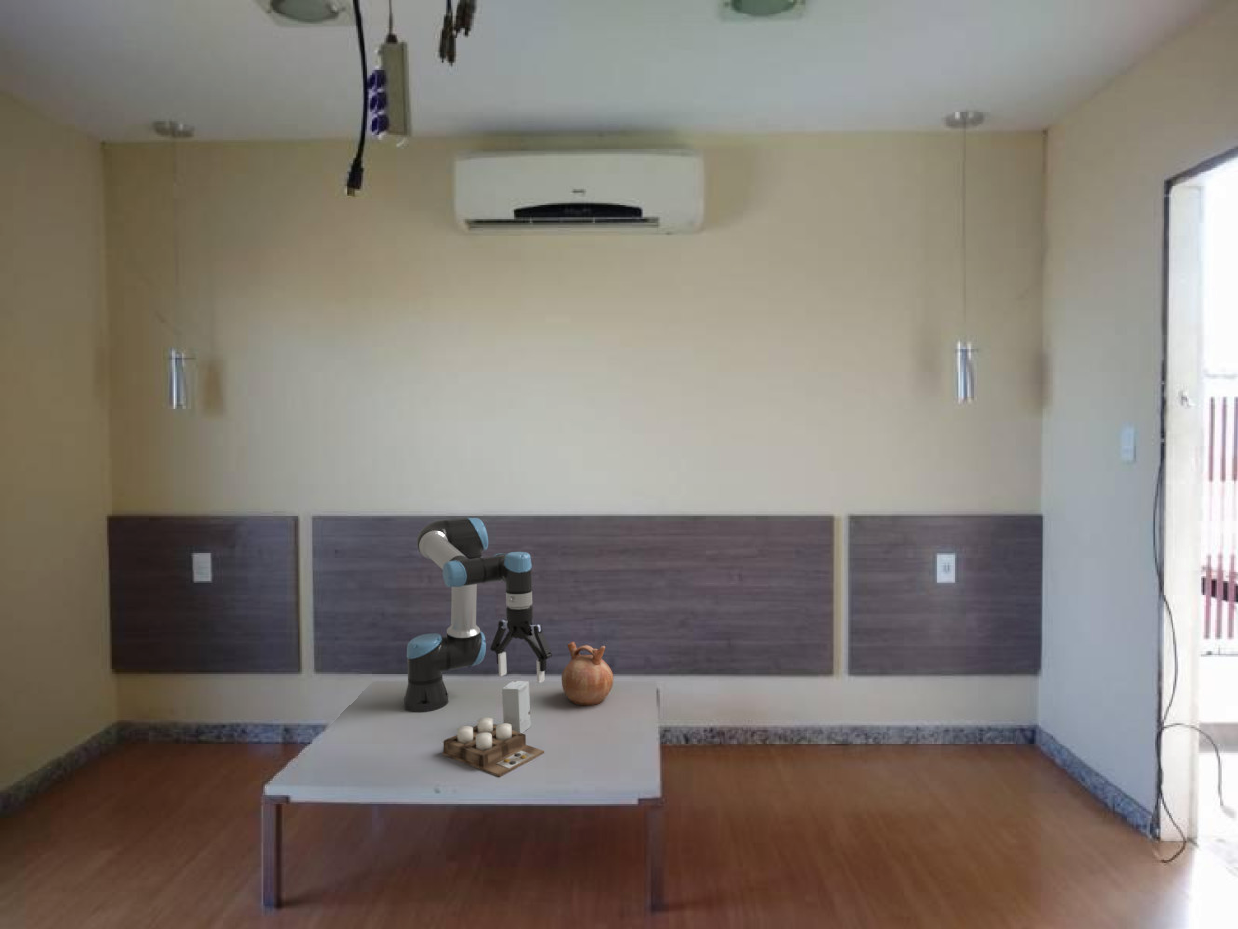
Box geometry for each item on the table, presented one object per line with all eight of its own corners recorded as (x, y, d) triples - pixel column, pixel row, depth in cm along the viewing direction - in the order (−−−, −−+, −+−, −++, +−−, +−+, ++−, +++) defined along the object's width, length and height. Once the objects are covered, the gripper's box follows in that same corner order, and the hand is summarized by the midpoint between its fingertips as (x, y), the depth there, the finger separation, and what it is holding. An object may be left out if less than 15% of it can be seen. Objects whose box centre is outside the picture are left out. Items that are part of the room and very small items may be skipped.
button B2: (493, 740, 225) (492, 727, 225) (504, 735, 229) (503, 722, 228) (504, 744, 222) (503, 731, 222) (515, 738, 226) (514, 725, 226)
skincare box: (520, 737, 234) (518, 690, 233) (502, 734, 236) (501, 688, 235) (531, 726, 242) (530, 680, 241) (514, 724, 244) (512, 679, 243)
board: (442, 754, 223) (442, 741, 223) (487, 733, 237) (487, 721, 237) (499, 777, 208) (499, 762, 208) (544, 753, 223) (543, 739, 222)
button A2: (474, 733, 230) (474, 721, 230) (485, 728, 233) (485, 716, 233) (485, 737, 227) (484, 724, 227) (496, 732, 231) (495, 719, 230)
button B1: (472, 750, 219) (472, 736, 218) (484, 744, 222) (484, 731, 222) (483, 754, 216) (483, 740, 216) (495, 748, 220) (495, 735, 219)
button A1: (454, 743, 223) (453, 730, 223) (466, 737, 227) (465, 724, 227) (464, 747, 221) (464, 733, 220) (476, 741, 224) (476, 728, 224)
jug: (624, 695, 267) (623, 640, 266) (595, 713, 252) (594, 654, 250) (581, 686, 277) (580, 632, 275) (551, 702, 262) (549, 646, 260)
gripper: (477, 604, 221) (479, 676, 222) (547, 613, 209) (550, 688, 211) (493, 599, 228) (495, 668, 229) (562, 607, 216) (564, 680, 217)
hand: (521, 678), depth 220 cm, fingers open, 13 cm apart
